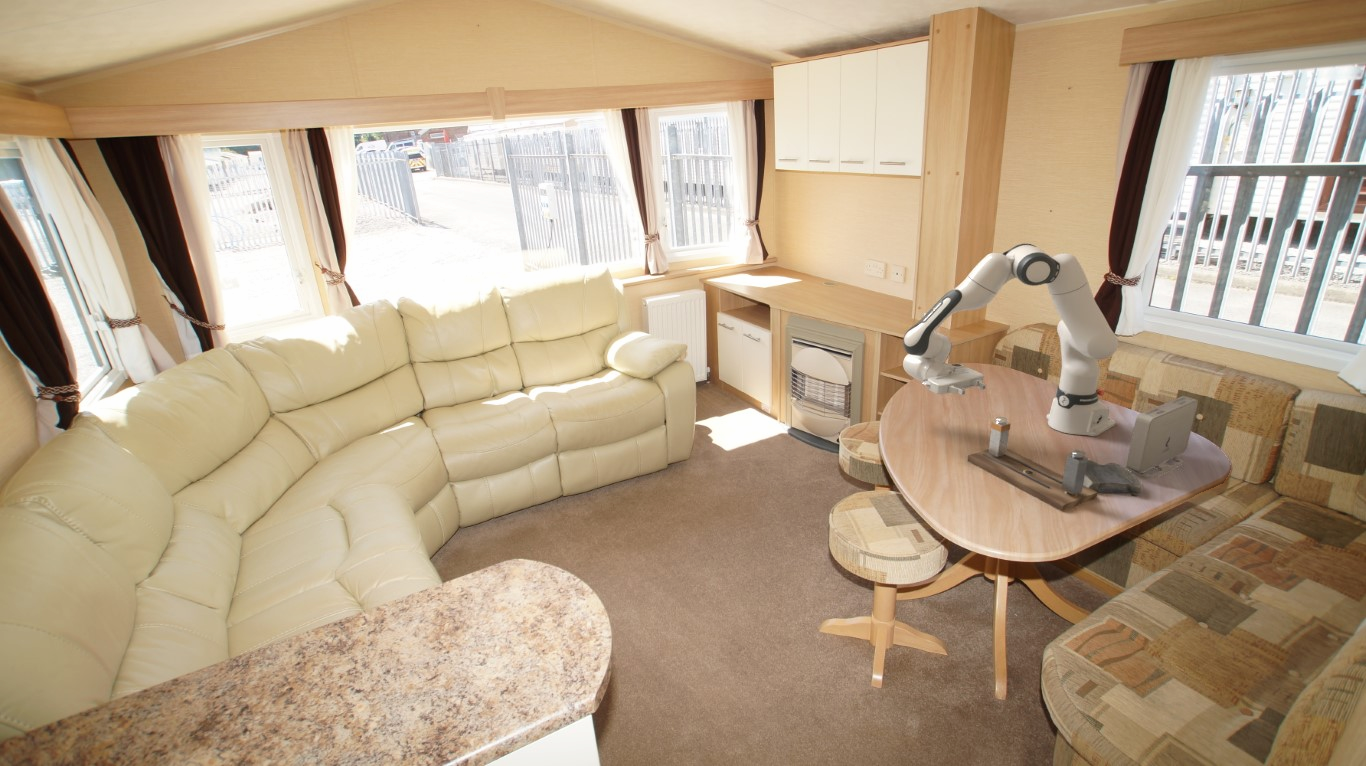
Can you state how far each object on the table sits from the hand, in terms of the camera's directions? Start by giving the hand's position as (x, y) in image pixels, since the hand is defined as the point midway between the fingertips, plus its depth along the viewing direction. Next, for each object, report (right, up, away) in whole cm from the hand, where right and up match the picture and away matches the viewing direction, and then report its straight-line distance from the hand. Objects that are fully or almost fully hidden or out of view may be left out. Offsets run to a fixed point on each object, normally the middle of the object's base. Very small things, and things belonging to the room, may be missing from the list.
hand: (974, 390), depth 207 cm
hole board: (+11, -27, -13) cm, 32 cm away
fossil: (+32, -28, -17) cm, 45 cm away
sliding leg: (+6, -22, -3) cm, 22 cm away
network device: (+51, -24, -10) cm, 57 cm away
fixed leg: (+16, -29, -26) cm, 42 cm away
